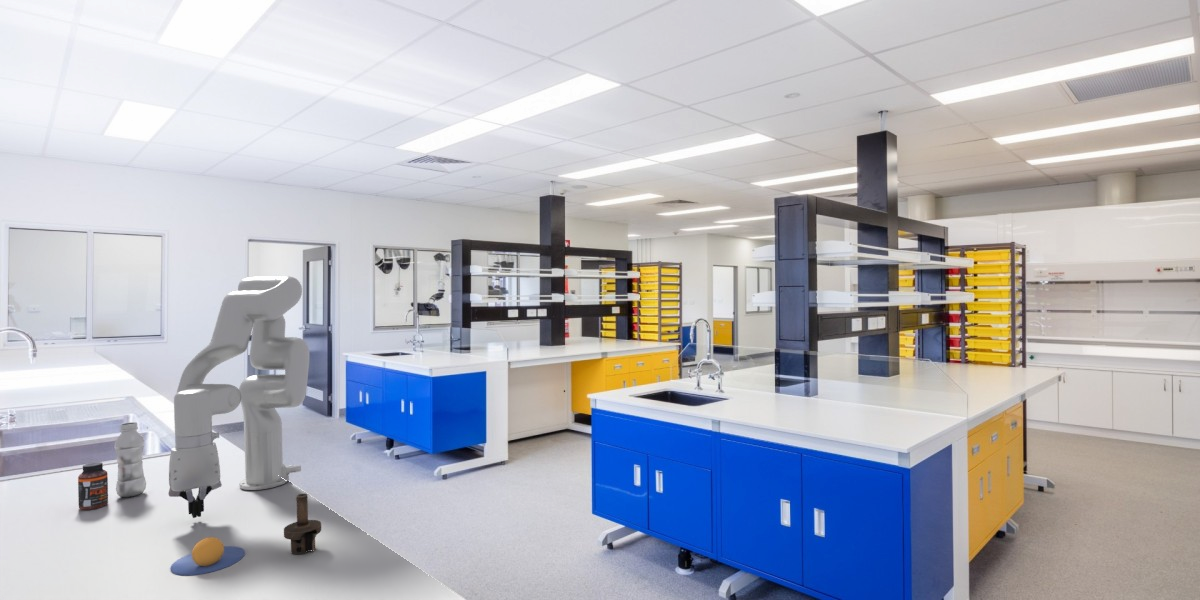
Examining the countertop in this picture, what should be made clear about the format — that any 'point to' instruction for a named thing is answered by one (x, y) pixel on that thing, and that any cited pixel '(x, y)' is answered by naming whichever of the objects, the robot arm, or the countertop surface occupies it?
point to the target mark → (191, 568)
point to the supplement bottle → (93, 486)
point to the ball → (207, 551)
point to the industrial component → (302, 528)
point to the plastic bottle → (130, 461)
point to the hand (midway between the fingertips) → (196, 515)
